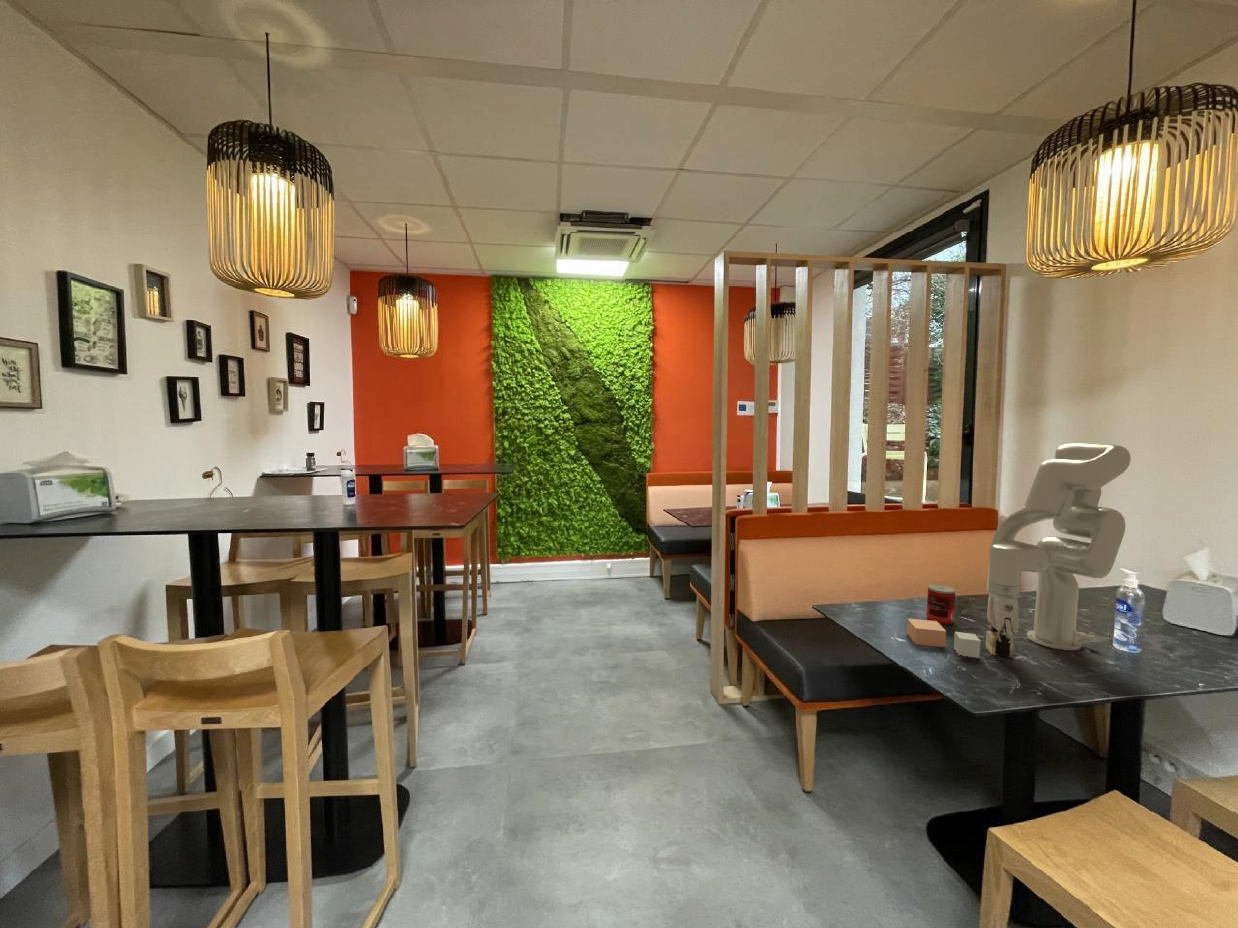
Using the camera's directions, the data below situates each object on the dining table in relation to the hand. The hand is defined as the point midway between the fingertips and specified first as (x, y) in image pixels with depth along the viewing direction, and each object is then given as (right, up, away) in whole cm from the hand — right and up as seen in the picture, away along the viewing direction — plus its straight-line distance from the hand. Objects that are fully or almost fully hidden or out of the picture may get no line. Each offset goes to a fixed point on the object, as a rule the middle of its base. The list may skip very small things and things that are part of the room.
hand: (998, 650), depth 150 cm
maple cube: (0, -1, 0) cm, 1 cm away
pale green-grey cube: (-10, -1, -1) cm, 10 cm away
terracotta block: (-16, 0, +8) cm, 18 cm away
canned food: (-2, +1, +24) cm, 24 cm away
